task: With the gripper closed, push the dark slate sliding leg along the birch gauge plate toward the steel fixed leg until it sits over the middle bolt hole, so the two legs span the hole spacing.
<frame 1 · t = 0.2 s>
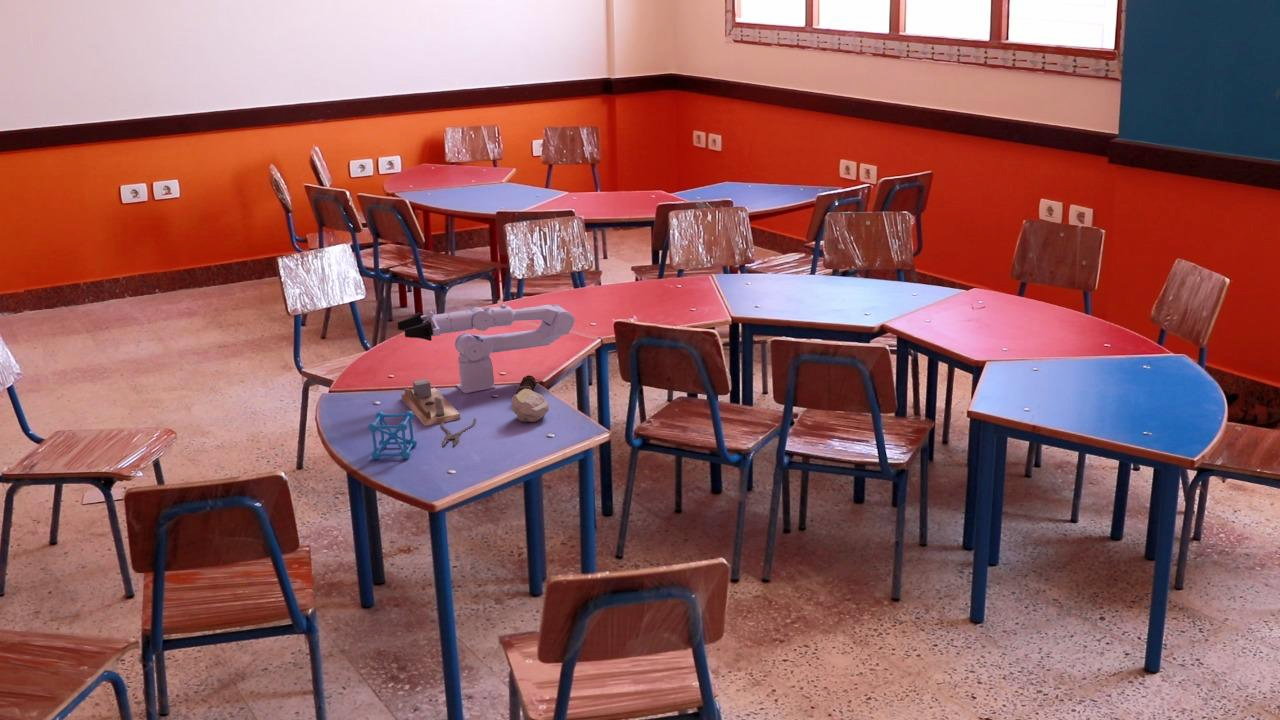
hand: (401, 329, 346), 21 cm above the table, tool horizontal, fingers open, 7 cm apart
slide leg: (422, 388, 350), point 4 cm above the table, slide at 0.0 cm
pliers: (460, 433, 328), on the table
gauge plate: (430, 408, 345), on the table
molecular structure: (395, 453, 317), on the table
bolt: (528, 396, 353), on the table
beige rock: (531, 419, 335), on the table
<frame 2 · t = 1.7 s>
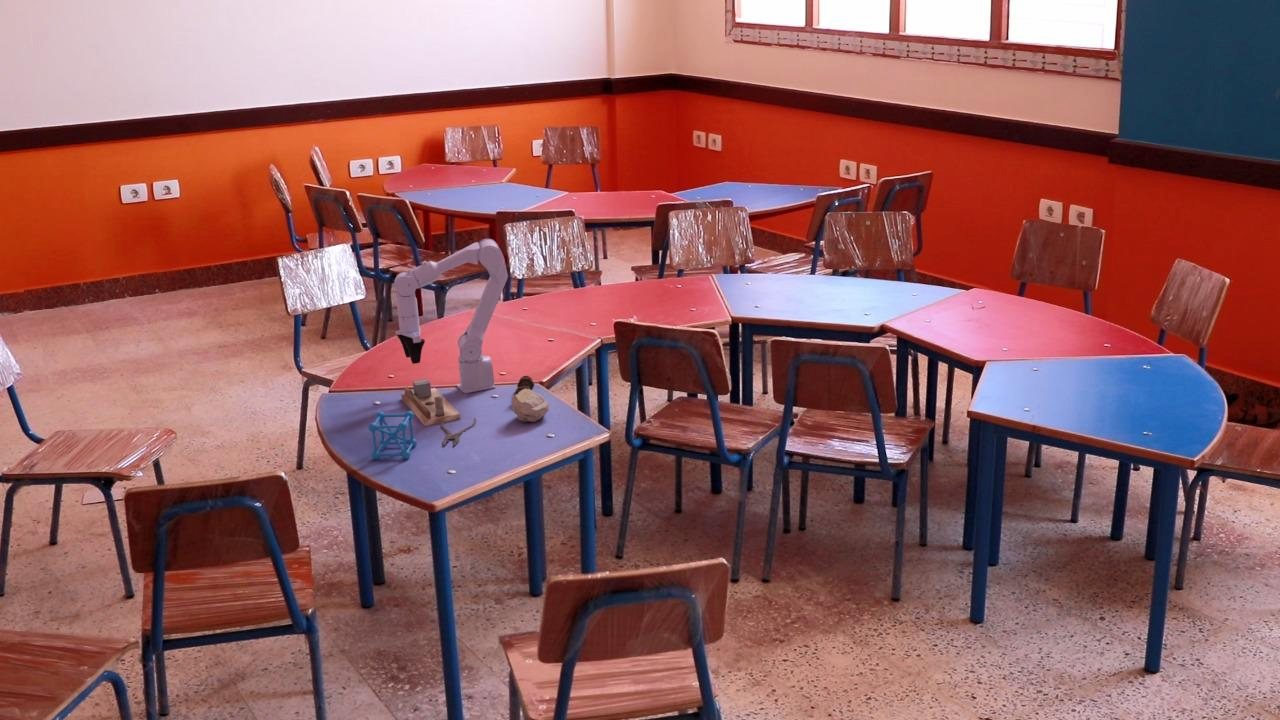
hand: (413, 359, 354), 10 cm above the table, tool pointing down, fingers open, 6 cm apart
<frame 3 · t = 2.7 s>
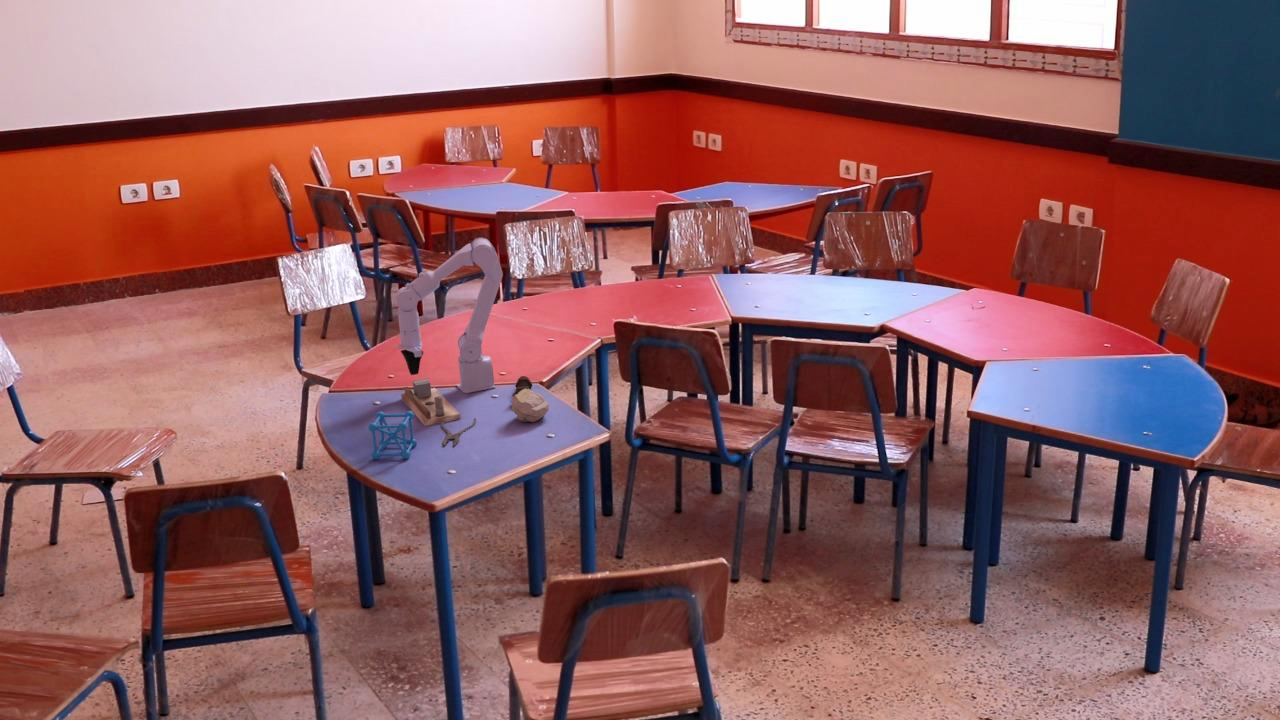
hand: (414, 373, 355), 6 cm above the table, tool pointing down, fingers closed
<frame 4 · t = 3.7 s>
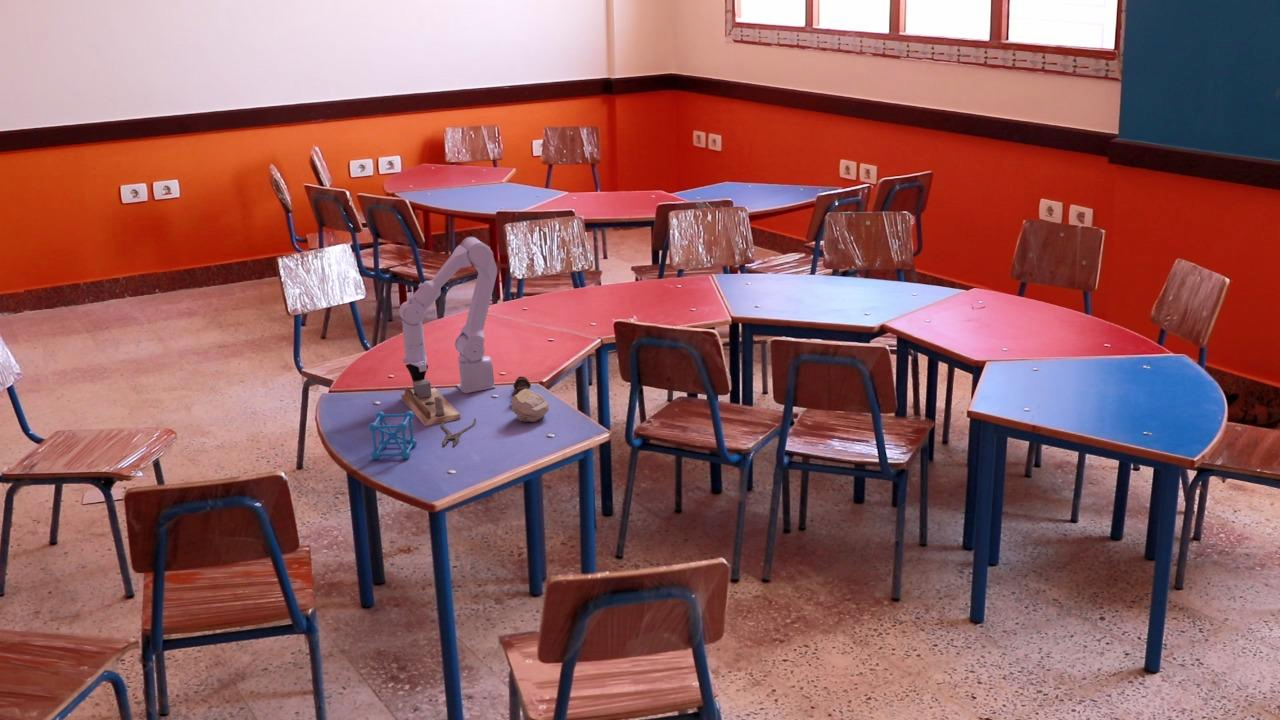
hand: (419, 388, 353), 3 cm above the table, tool pointing down, fingers closed
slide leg: (422, 388, 350), point 4 cm above the table, slide at 0.1 cm, touching gripper
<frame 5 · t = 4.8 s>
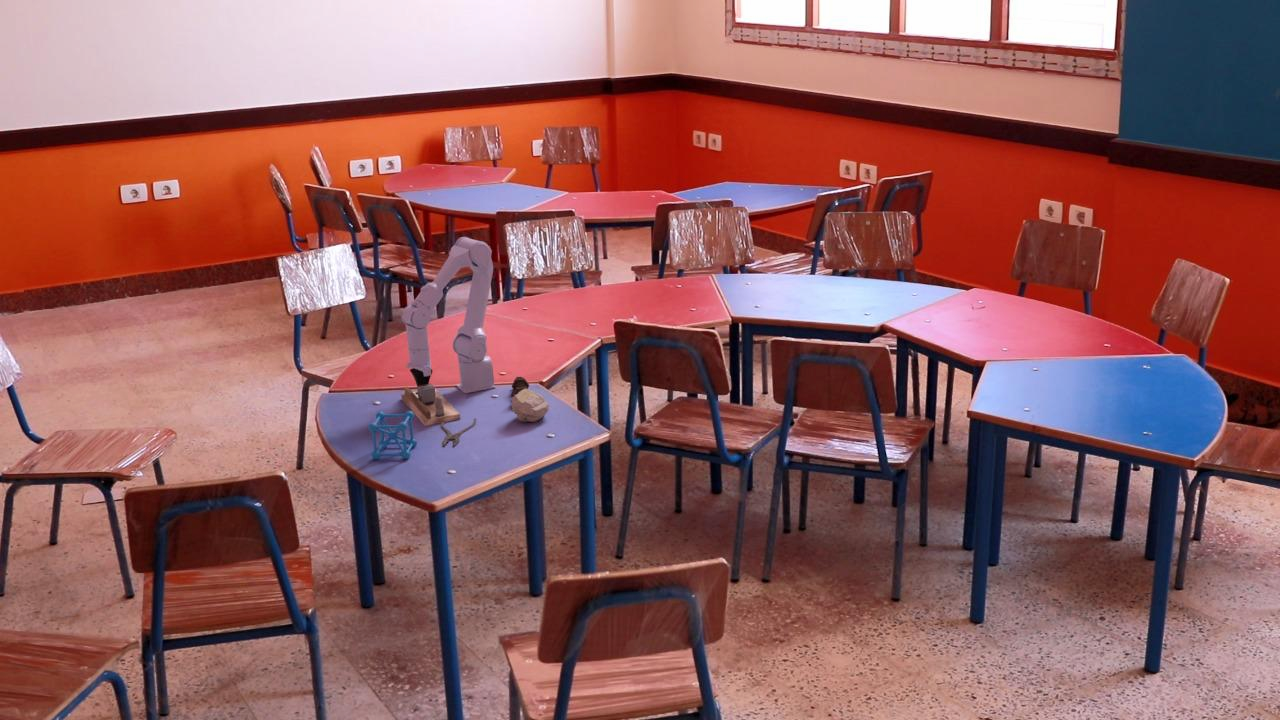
hand: (423, 392, 350), 3 cm above the table, tool pointing down, fingers closed
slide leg: (426, 393, 346), point 4 cm above the table, slide at 4.6 cm, touching gripper
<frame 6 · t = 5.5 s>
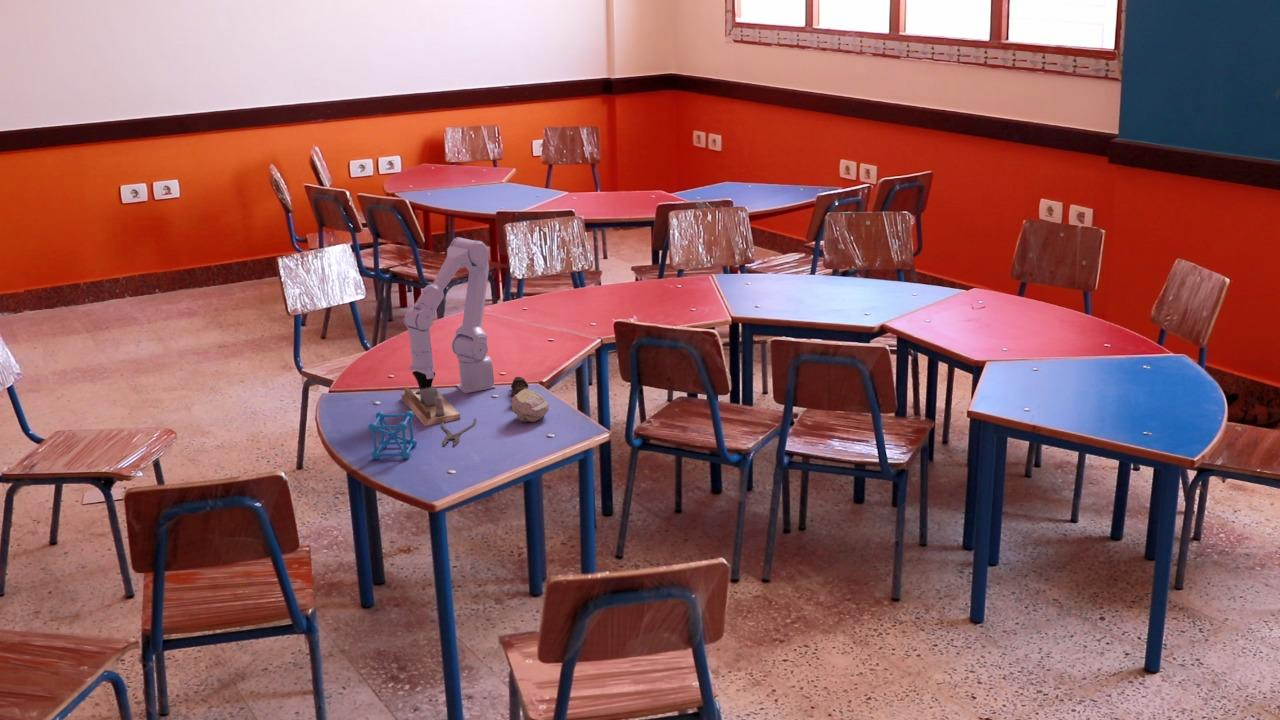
hand: (426, 395, 347), 3 cm above the table, tool pointing down, fingers closed
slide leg: (429, 396, 344), point 4 cm above the table, slide at 7.3 cm, touching gripper
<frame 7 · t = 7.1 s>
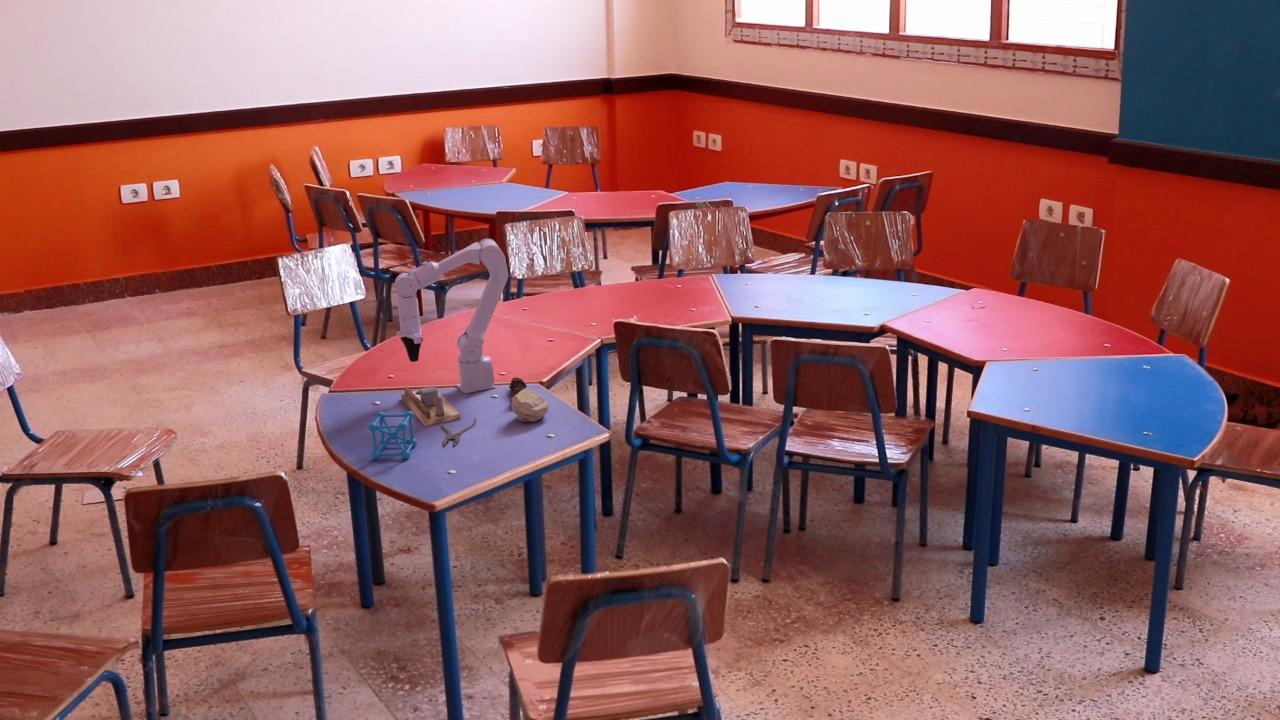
hand: (414, 360, 353), 10 cm above the table, tool pointing down, fingers closed
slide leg: (429, 396, 344), point 4 cm above the table, slide at 7.3 cm
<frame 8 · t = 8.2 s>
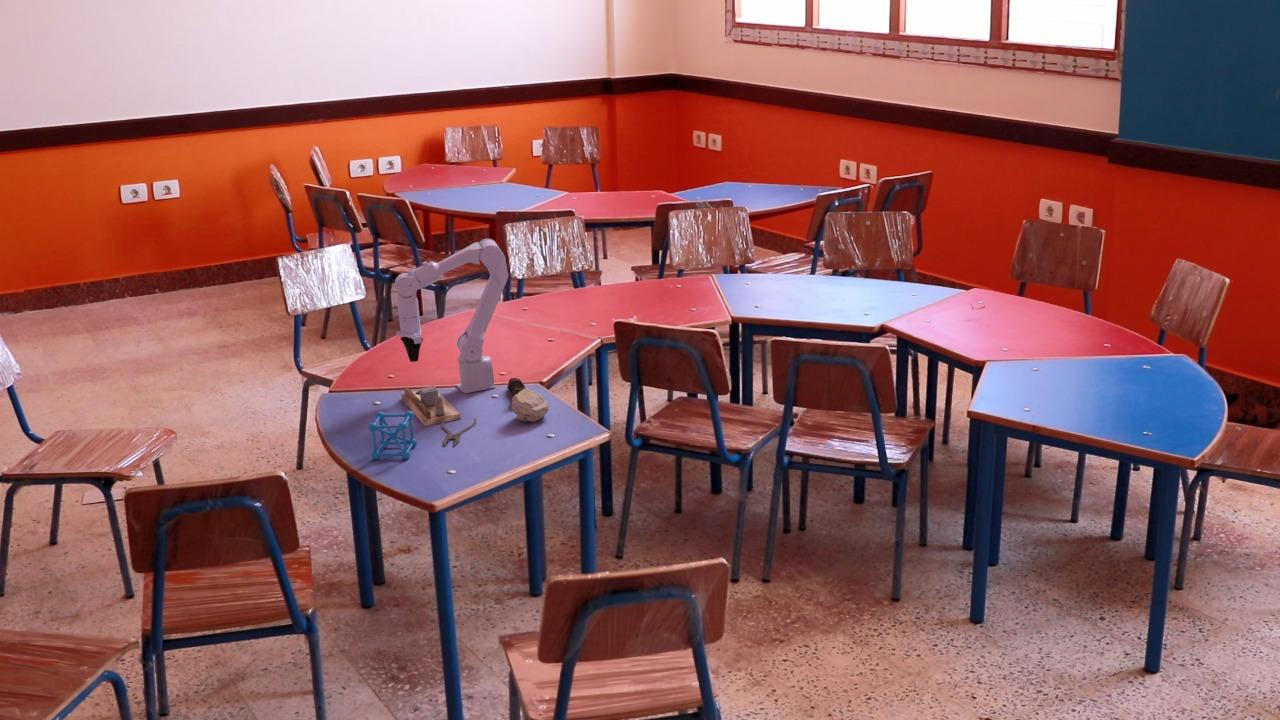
hand: (414, 360, 353), 10 cm above the table, tool pointing down, fingers closed
at the end: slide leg slide at 7.3 cm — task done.
